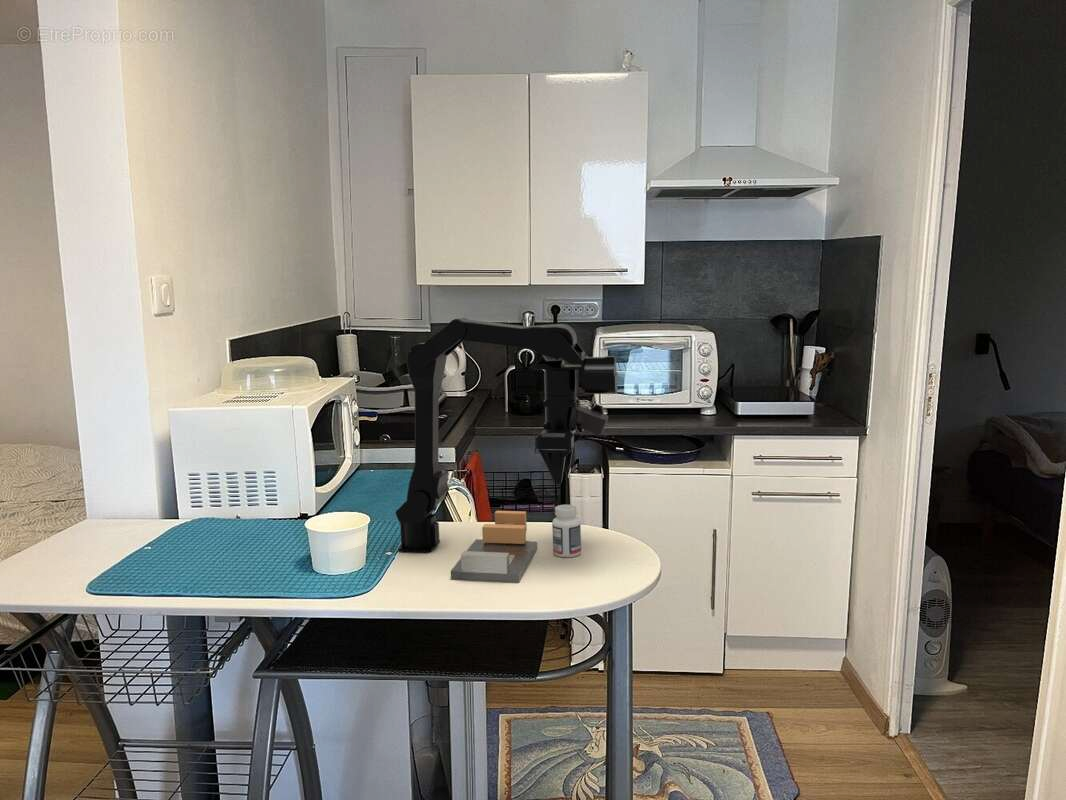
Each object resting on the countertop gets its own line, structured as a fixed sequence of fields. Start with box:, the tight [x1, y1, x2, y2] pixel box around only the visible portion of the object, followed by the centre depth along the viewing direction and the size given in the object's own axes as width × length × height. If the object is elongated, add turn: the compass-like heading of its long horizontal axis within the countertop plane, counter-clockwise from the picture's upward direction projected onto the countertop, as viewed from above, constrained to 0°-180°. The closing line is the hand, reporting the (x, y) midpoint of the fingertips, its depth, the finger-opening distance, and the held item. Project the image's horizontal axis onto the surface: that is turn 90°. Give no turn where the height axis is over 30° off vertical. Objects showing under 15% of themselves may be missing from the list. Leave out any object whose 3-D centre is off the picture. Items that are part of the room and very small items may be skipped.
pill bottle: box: [551, 504, 582, 558], centre depth 148 cm, size 5×5×9 cm
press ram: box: [481, 510, 528, 544], centre depth 153 cm, size 8×8×4 cm
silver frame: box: [450, 538, 538, 584], centre depth 144 cm, size 12×17×4 cm
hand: (562, 477), depth 146 cm, fingers open, 9 cm apart
